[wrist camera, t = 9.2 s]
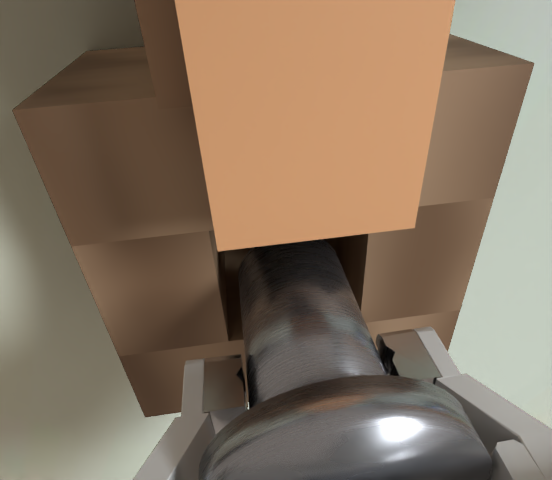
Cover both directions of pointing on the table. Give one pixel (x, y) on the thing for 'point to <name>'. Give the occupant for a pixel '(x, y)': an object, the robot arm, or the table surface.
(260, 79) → the bar
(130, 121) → the block
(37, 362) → the table surface
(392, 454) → the steel pin
